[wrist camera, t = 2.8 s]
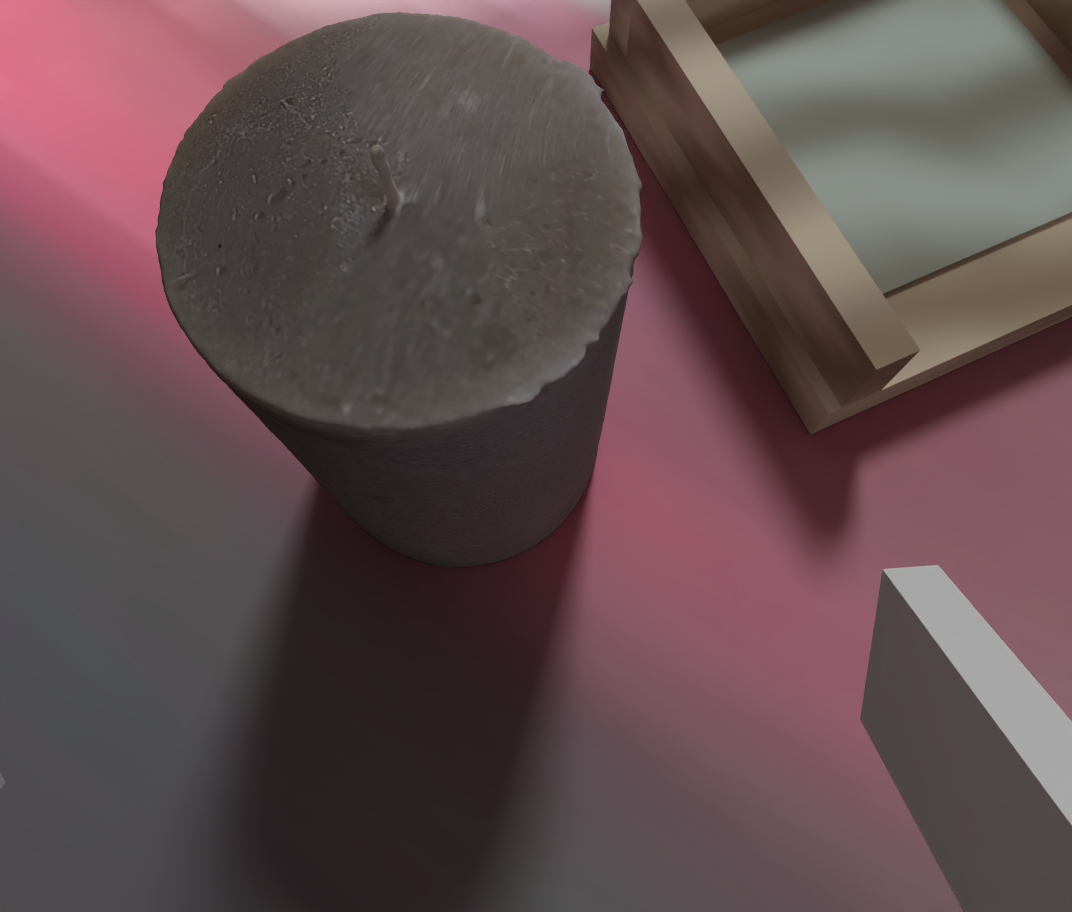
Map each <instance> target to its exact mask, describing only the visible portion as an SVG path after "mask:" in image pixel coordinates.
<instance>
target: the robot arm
mask: <svg viewBox="0 0 1072 912" xmlns="http://www.w3.org/2000/svg"><path fill="white" fill-rule="evenodd" d="M860 720H861V721H862V723H863V725H864V727H865V729H866V731H867V733H868V735H869V736H870V738H871V740H872V742H873V744H874V746H875V748H876V749H877V751H878V753H879V755H880V757H881V759H882V761H883V762H884V764H885V766H886V768H887V770H888V772H889V774H890V776H891V777H892V779H893V781H894V783H895V785H896V787H897V789H898V790H899V792H900V794H901V796H902V798H903V800H904V802H905V804H906V805H907V807H908V809H909V811H910V813H911V815H912V817H913V818H914V820H915V822H916V824H917V826H918V828H919V830H920V832H921V833H922V835H923V837H924V839H925V841H926V843H927V845H928V846H929V848H930V850H931V852H932V854H933V856H934V858H935V859H936V861H937V863H938V865H939V867H940V869H941V871H942V873H943V874H944V876H945V878H946V880H947V882H948V884H949V886H950V887H951V889H952V891H953V893H954V895H955V897H956V899H957V901H958V902H959V904H960V906H961V908H962V910H963V912H1072V722H1071V720H1070V719H1069V718H1068V717H1067V716H1066V715H1065V713H1064V712H1063V711H1062V710H1061V709H1060V707H1059V706H1058V705H1057V704H1056V703H1055V702H1054V700H1053V699H1052V698H1051V697H1050V696H1049V695H1048V693H1047V692H1046V691H1045V690H1044V689H1043V688H1042V686H1041V685H1040V684H1039V683H1038V682H1037V681H1036V679H1035V678H1034V677H1033V676H1032V675H1031V673H1030V672H1029V671H1028V670H1027V669H1026V668H1025V666H1024V665H1023V664H1022V663H1021V662H1020V661H1019V659H1018V658H1017V657H1016V656H1015V655H1014V654H1013V652H1012V651H1011V650H1010V649H1009V648H1008V647H1007V645H1006V644H1005V643H1004V642H1003V641H1002V640H1001V638H1000V637H999V636H998V635H997V634H996V632H995V631H994V630H993V629H992V628H991V627H990V625H989V624H988V623H987V622H986V621H985V620H984V618H983V617H982V616H981V615H980V614H979V613H978V611H977V610H976V609H975V608H974V607H973V606H972V604H971V603H970V602H969V601H968V600H967V598H966V597H965V596H964V595H963V594H962V593H961V591H960V590H959V589H958V588H957V587H956V586H955V584H954V583H953V582H952V581H951V580H950V579H949V577H948V576H947V575H946V574H945V573H944V572H943V570H942V569H941V568H940V567H939V566H938V565H932V566H919V567H905V568H891V569H883V570H882V577H881V583H880V590H879V597H878V603H877V610H876V617H875V623H874V630H873V637H872V644H871V650H870V657H869V664H868V670H867V677H866V684H865V690H864V697H863V704H862V711H861V717H860ZM4 783H5V781H4V779H3V777H2V775H1V773H0V789H1V787H2V786H3V784H4Z"/></svg>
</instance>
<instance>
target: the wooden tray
mask: <svg viewBox="0 0 1072 912" xmlns="http://www.w3.org/2000/svg"><path fill="white" fill-rule="evenodd" d="M590 68H591V70H592V72H593V73H594V75H595V77H596V78H597V80H598V82H599V83H600V85H601V87H602V88H603V89H605V90H604V92H605V93H606V95H607V97H608V98H609V100H610V102H611V103H612V105H613V107H614V108H615V110H616V112H617V113H618V115H619V117H620V118H621V120H622V122H623V123H624V125H625V127H626V128H627V130H628V132H629V133H630V135H631V137H632V138H633V140H634V142H635V143H636V145H637V147H638V148H639V150H640V152H641V153H642V155H643V157H644V158H645V160H646V162H647V163H648V165H649V167H650V168H651V170H652V172H653V173H654V175H655V177H656V178H657V180H658V182H659V183H660V185H661V187H662V188H663V190H664V192H665V193H666V195H667V197H668V198H669V200H670V202H671V203H672V205H673V207H674V208H675V210H676V212H677V213H678V215H679V217H680V218H681V220H682V222H683V223H684V225H685V227H686V228H687V230H688V232H689V233H690V235H691V237H692V238H693V240H694V242H695V243H696V245H697V247H698V248H699V250H700V252H701V253H702V255H703V257H704V258H705V260H706V262H707V263H708V265H709V267H710V268H711V270H712V272H713V273H714V275H715V277H716V278H717V280H718V282H719V283H720V285H721V287H722V288H723V290H724V292H725V293H726V295H727V297H728V298H729V300H730V302H731V303H732V305H733V307H734V308H735V310H736V312H737V313H738V315H739V317H740V318H741V320H742V322H743V323H744V325H745V327H746V328H747V330H748V332H749V333H750V335H751V337H752V338H753V340H754V342H755V343H756V345H757V347H758V348H759V350H760V352H761V353H762V355H763V357H764V358H765V360H766V362H767V363H768V365H769V367H770V368H771V370H772V372H773V373H774V375H775V377H776V378H777V380H778V382H779V383H780V385H781V387H782V388H783V390H784V391H785V393H786V395H787V396H788V398H789V400H790V401H791V403H792V405H793V406H794V408H795V410H796V411H797V413H798V415H799V416H800V418H801V420H802V421H803V423H804V425H805V426H806V428H807V430H808V431H809V433H810V435H811V434H813V433H815V432H818V431H820V430H822V429H824V428H826V427H829V426H831V425H833V424H835V423H838V422H840V421H842V420H844V419H846V418H849V417H851V416H853V415H855V414H857V413H860V412H862V411H864V410H866V409H869V408H871V407H873V406H875V405H877V404H880V403H882V402H884V401H886V400H889V399H891V398H893V397H895V396H897V395H900V394H902V393H904V392H906V391H909V390H911V389H913V388H915V387H917V386H920V385H922V384H924V383H926V382H928V381H931V380H933V379H935V378H937V377H940V376H942V375H944V374H946V373H948V372H951V371H953V370H955V369H957V368H960V367H962V366H964V365H966V364H968V363H971V362H973V361H975V360H977V359H980V358H982V357H984V356H986V355H988V354H991V353H993V352H995V351H997V350H1000V349H1002V348H1004V347H1006V346H1008V345H1011V344H1013V343H1015V342H1017V341H1019V340H1022V339H1024V338H1026V337H1028V336H1031V335H1033V334H1035V333H1037V332H1039V331H1042V330H1044V329H1046V328H1048V327H1051V326H1053V325H1055V324H1057V323H1059V322H1062V321H1064V320H1066V319H1068V318H1071V317H1072V0H611V12H610V22H607V23H604V24H602V25H599V26H596V27H594V28H592V36H591V55H590Z"/></svg>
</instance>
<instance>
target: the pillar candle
mask: <svg viewBox="0 0 1072 912" xmlns="http://www.w3.org/2000/svg"><path fill="white" fill-rule="evenodd" d="M604 90H605V89H601V88H600V87H598V86H597V85H596V84H595V82H594V80H593V77H592V76H591V75H590V74H588V73H587V72H585V71H583V70H582V68H581V67H579V66H577V65H575V64H573V63H572V62H569V61H567V60H563V61H558V60H556V59H555V58H554V57H552V56H551V55H550V54H548V53H546V52H545V51H544V50H543V49H542V48H538V47H535V46H534V45H532V44H531V43H530V42H529V41H527V40H526V39H524V38H521V37H519V36H514V35H511V34H510V33H508V32H506V31H504V30H500V29H497V28H494V27H492V26H488V25H485V24H480V23H478V22H475V21H472V20H467V19H462V18H458V17H451V16H441V15H429V14H409V13H401V12H397V13H379V14H373V15H370V16H367V17H363V18H358V19H353V20H348V21H344V22H339V23H337V24H333V25H328V26H325V27H323V28H321V29H318V30H316V31H313V32H312V33H309V34H307V35H304V36H302V37H300V38H297V39H295V40H292V41H290V42H289V43H287V44H285V45H283V46H281V47H279V48H278V49H276V50H275V51H273V52H271V53H269V54H267V55H265V56H263V57H261V58H259V59H257V60H256V61H255V62H253V63H252V64H251V65H250V66H249V67H248V68H247V69H246V70H244V71H243V72H241V73H240V74H238V75H236V76H234V77H233V78H231V79H230V80H228V81H227V82H226V83H225V85H224V86H223V89H222V90H221V91H220V92H219V93H217V94H216V95H215V96H214V97H213V99H211V101H210V102H209V103H208V105H207V106H206V108H205V109H204V111H203V112H202V113H201V114H199V117H198V118H197V119H196V120H195V121H194V123H193V124H192V125H191V127H189V128H188V129H187V131H186V132H185V134H184V138H183V140H182V141H181V142H180V143H179V145H178V148H177V150H176V153H175V156H174V158H173V160H172V163H171V165H170V167H169V169H168V171H167V175H166V178H165V180H164V182H163V192H162V195H161V200H160V212H159V215H158V226H157V229H156V231H155V232H156V248H157V253H158V258H159V263H160V268H161V274H162V283H163V286H164V292H165V294H166V298H167V301H168V303H169V306H170V308H171V310H172V312H173V314H174V316H175V318H176V320H177V322H178V323H179V325H180V327H181V328H182V330H183V331H184V333H185V334H186V336H187V337H188V339H189V340H190V342H191V344H192V345H193V347H194V348H195V349H196V351H197V352H198V354H199V355H200V356H201V357H202V358H203V359H204V360H205V361H206V363H207V364H208V365H209V367H210V368H211V369H212V370H213V371H214V372H215V373H216V374H217V376H218V377H219V378H220V379H221V380H222V381H223V382H225V383H226V384H227V385H228V387H229V388H230V389H231V390H232V391H233V392H234V393H235V394H236V395H237V396H238V397H239V398H240V399H241V400H242V401H243V402H244V403H245V404H246V406H247V407H248V408H249V409H250V410H251V411H252V412H253V413H254V414H255V415H256V416H257V417H258V418H259V419H260V420H261V421H262V422H263V424H264V425H265V426H266V427H267V428H268V429H269V430H270V431H271V432H272V433H273V434H274V435H275V436H276V437H277V438H278V439H279V440H280V441H281V442H282V443H283V444H284V445H285V446H286V447H287V449H288V450H289V451H290V452H291V453H292V454H293V455H294V456H295V457H296V458H297V459H298V460H299V461H300V462H301V464H302V465H303V466H304V467H305V468H306V469H307V470H308V471H309V473H310V474H311V475H312V476H313V477H314V478H315V479H316V481H317V482H318V483H319V484H320V485H321V486H322V487H324V488H325V490H326V491H327V492H328V493H329V494H330V495H331V496H332V497H333V498H334V499H335V500H336V502H337V503H338V504H339V505H340V506H341V507H342V508H343V509H344V510H345V511H346V512H347V513H348V514H349V515H350V516H351V517H352V518H353V519H354V520H355V521H356V522H357V524H358V525H359V526H360V527H361V528H363V529H364V530H365V531H366V532H367V533H368V534H370V535H371V536H372V537H373V538H375V539H376V540H377V541H379V542H380V543H381V544H383V545H384V546H386V547H387V548H389V549H391V550H393V551H395V552H397V553H400V554H402V555H404V556H406V557H409V558H411V559H414V560H416V561H419V562H422V563H428V564H432V565H435V566H443V567H471V566H479V565H485V564H490V563H494V562H498V561H502V560H505V559H508V558H510V557H513V556H515V555H517V554H519V553H522V552H524V551H526V550H528V549H530V548H531V547H533V546H534V545H536V544H537V543H539V542H540V541H542V540H543V539H544V538H546V537H547V536H549V535H550V534H551V533H552V532H553V531H554V530H555V529H556V528H557V527H558V526H559V525H560V524H561V523H562V522H563V521H564V520H565V519H566V518H567V516H568V515H569V514H570V513H571V512H572V510H573V509H574V508H575V506H576V505H577V503H578V501H579V500H580V498H581V496H582V494H583V492H584V490H585V489H586V487H587V485H588V482H589V480H590V477H591V474H592V471H593V468H594V465H595V461H596V457H597V450H598V444H599V440H600V435H601V431H602V425H603V422H604V417H605V412H606V406H607V400H608V395H609V390H610V385H611V379H612V374H613V368H614V362H615V357H616V352H617V347H618V343H619V337H620V331H621V326H622V321H623V315H624V311H625V306H626V301H627V295H628V290H629V287H630V286H631V284H632V283H633V279H632V275H633V263H634V261H635V259H636V257H637V256H638V254H639V251H640V247H641V243H642V238H643V236H642V232H641V223H640V218H641V206H640V191H641V189H642V184H641V181H640V179H639V176H638V174H637V171H636V168H635V165H634V162H633V157H632V155H631V154H630V151H629V149H628V145H627V142H626V138H625V135H624V132H623V129H622V128H621V127H620V126H619V124H618V123H617V122H616V121H615V119H614V117H613V115H612V114H611V113H610V111H609V109H608V108H607V107H606V106H605V104H604V103H603V102H602V101H601V93H602V92H603V91H604Z"/></svg>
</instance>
